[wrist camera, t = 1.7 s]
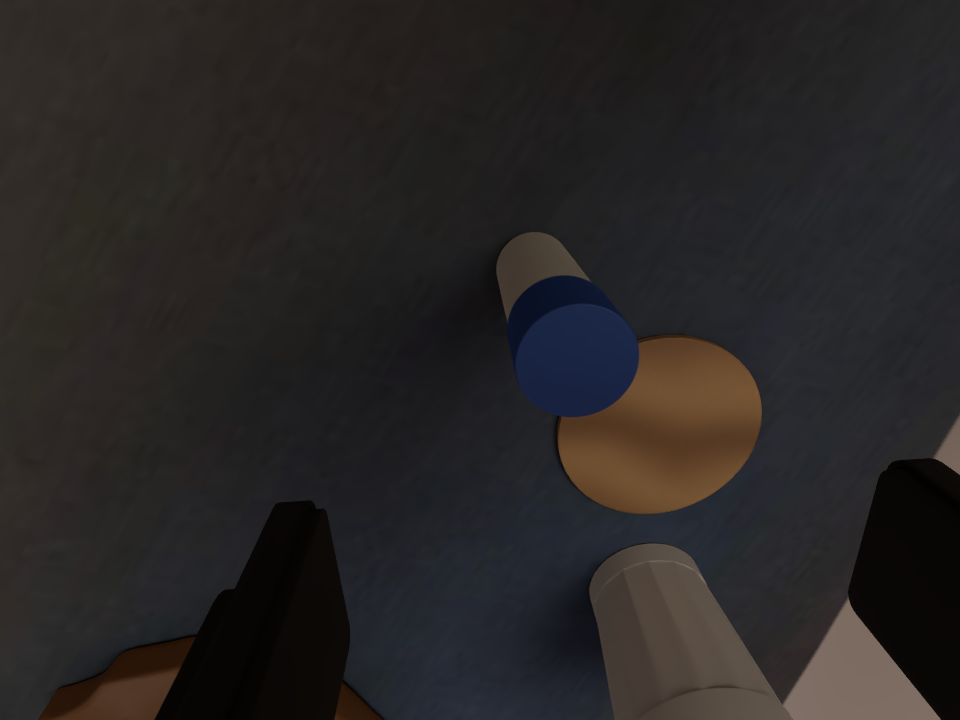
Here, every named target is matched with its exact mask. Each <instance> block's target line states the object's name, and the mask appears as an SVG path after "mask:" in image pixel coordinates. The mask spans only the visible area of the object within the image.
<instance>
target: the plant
mask: <svg viewBox="0 0 960 720" xmlns="http://www.w3.org/2000/svg"><path fill="white" fill-rule="evenodd" d="M195 638H196V636H195V637H187V638H183V639H179V640H175V641H171V642H166V643H161V644H155V645H150V646H145V647H139V648H135V649H131V650H128V651H125V652H123V653H122V654H121V655H119V656H118V657H117V658H116V660H115V661H114V662H113V663H112V664H111V666H110V667H109V668H108V669H107V670H106V671H105V672H104V673H103V674H101V675H99V676H96V677H94V678H91V679H89V680H86V681H83V682H80V683H77V684H74V685H70V686H66V687H63V688H59V689H58V690H57V691H56V693H55V694H54V696H53V697H52V699H51V701H50V702H49V704H48V705H47V707H46V708H45V710H44V711H43V713H42V714H41V716H40V717H39V719H38V720H154V719H155V717H156V715H157V713H158V711H159V710H160V708H161V706H162V704H163V702H164V700H165V698H166V696H167V694H168V692H169V690H170V688H171V686H172V684H173V682H174V680H175V678H176V676H177V674H178V672H179V670H180V668H181V666H182V664H183V662H184V660H185V658H186V656H187V654H188V652H189V650H190V648H191V646H192V644H193V642H194V640H195ZM335 720H383V719H382V718H381V717H380V716H378V715H377V714H376V713H375V712H374V711H372V710H371V709H370V708H369V706H368V705H367V704H366V703H365V702H364V701H362V700H361V699H360V698H359V697H358V696H357V695H356V694H355V693H354V692H353V691H352V690H351V689H350V688H349V687H348V686H347V685H345V684H344V683H343V682H342V685H341V690H340V695H339V700H338V705H337V710H336V715H335Z"/></svg>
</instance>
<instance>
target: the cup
mask: <svg viewBox="0 0 960 720" xmlns="http://www.w3.org/2000/svg"><path fill="white" fill-rule="evenodd" d="M589 593H590V599H591V603H592V607H593V610H594V614H595V618H596V621H597V624H598V629H599V635H600V641H601V646H602V652H603V657H604V663H605V668H606V674H607V679H608V685H609V690H610V696H611V702H612V707H613V713H614V718H615V720H793V719H792V717H791V716H790V714H789V713H788V711H787V710H786V709H785V708H784V707H783V705H782V704H781V702H780V701H779V699H778V698H777V696H776V694H775V693H774V691H773V690H772V688H771V686H770V685H769V683H768V682H767V680H766V679H765V677H764V675H763V674H762V672H761V671H760V669H759V667H758V666H757V664H756V663H755V661H754V660H753V658H752V656H751V655H750V653H749V652H748V650H747V648H746V647H745V645H744V644H743V642H742V641H741V639H740V637H739V636H738V634H737V633H736V631H735V630H734V628H733V626H732V625H731V623H730V622H729V620H728V618H727V617H726V615H725V614H724V612H723V611H722V609H721V607H720V606H719V604H718V603H717V601H716V599H715V598H714V596H713V595H712V593H711V592H710V590H709V588H708V587H707V585H706V583H705V581H704V579H703V577H702V575H701V573H700V571H699V569H698V567H697V565H696V563H695V562H694V560H693V559H692V558H691V557H690V556H689V555H688V554H686V553H685V552H684V551H682V550H680V549H678V548H676V547H673V546H669V545H665V544H656V543H650V544H641V545H636V546H632V547H629V548H626V549H623V550H621V551H619V552H617V553H615V554H614V555H612V556H611V557H609V558H608V559H607V560H606V561H604V562H603V563H602V564H601V565H600V567H599V568H598V569H597V570H596V572H595V574H594V575H593V577H592V580H591V583H590V589H589Z"/></svg>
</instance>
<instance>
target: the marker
mask: <svg viewBox="0 0 960 720" xmlns="http://www.w3.org/2000/svg"><path fill="white" fill-rule="evenodd" d="M496 273H497V279H498V283H499V288H500V292H501V297H502V301H503V305H504V310H505V314H506V318H507V336H508V341H509V346H510V351H511V355H512V360H513V365H514V369H515V374H516V378H517V382H518V384H519V386H520V388H521V390H522V392H523V393H524V395H525V396H526V397H527V398H528V400H530V401H531V402H532V403H533V404H534V405H535V406H537V407H538V408H540V409H542V410H543V411H545V412H548V413H550V414H553V415H557V416H561V417H582V416H587V415H592V414H594V413H597V412H600V411H602V410H604V409H606V408H608V407H609V406H611V405H612V404H614V403H615V402H616V401H617V400H619V399H620V398H621V397H622V396H623V395H624V394H625V392H626V391H627V390H628V388H629V387H630V385H631V383H632V382H633V380H634V378H635V375H636V372H637V369H638V364H639V346H638V342H637V339H636V336H635V334H634V332H633V330H632V328H631V327H630V325H629V324H628V323H627V321H626V320H625V319H624V318H623V316H622V315H621V314H620V313H619V311H618V310H617V309H616V308H615V306H614V305H613V304H612V303H611V301H610V300H609V299H608V297H607V296H606V295H605V294H604V293H603V292H602V290H601V289H600V288H598V287H597V286H596V285H595V284H593V283H592V282H591V281H590V280H589V279H588V277H587V276H586V275H585V273H584V272H583V271H582V269H581V268H580V267H579V266H578V264H577V263H576V262H575V260H574V259H573V258H572V257H571V255H570V254H569V253H568V251H567V250H566V249H565V248H564V246H563V245H562V244H561V243H560V242H559V241H558V240H557V239H556V238H554V237H552V236H550V235H548V234H545V233H541V232H529V233H525V234H521V235H519V236H517V237H515V238H514V239H512V240H511V241H510V242H509V243H508V244H506V246H505V247H504V248H503V250H502V251H501V253H500V255H499V257H498V261H497V266H496Z"/></svg>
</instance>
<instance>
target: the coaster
mask: <svg viewBox="0 0 960 720" xmlns="http://www.w3.org/2000/svg"><path fill="white" fill-rule="evenodd" d="M637 342H638V346H639V364H638V369H637V372H636V375H635V378H634V380H633V382H632V383H631V385H630V387H629V388H628V390H627V391H626V392H625V394H624V395H623V396H622V397H621V398H620V399H619V400H617V401H616V402H615V403H614V404H612V405H611V406H609V407H608V408H606V409H604V410H602V411H600V412H597V413H594V414H592V415H587V416H582V417H561V416H559V420H558V426H557V444H558V450H559V454H560V458H561V461H562V464H563V466H564V469H565V471H566V473H567V474H568V476H569V477H570V479H571V481H572V482H573V483H574V484H575V485H576V486H577V488H578V489H579V490H581V491H582V492H583V493H584V494H585V495H586V496H588V497H589V498H591V499H592V500H594V501H595V502H597V503H599V504H601V505H603V506H606V507H608V508H611V509H614V510H617V511H622V512H627V513H636V514H655V513H663V512H668V511H673V510H677V509H680V508H683V507H686V506H689V505H692V504H694V503H696V502H698V501H700V500H702V499H704V498H706V497H708V496H709V495H711V494H713V493H714V492H716V491H717V490H718V489H720V488H721V487H722V486H724V485H725V484H726V483H727V482H728V481H729V480H730V479H732V478H733V476H734V475H735V474H736V473H737V472H738V471H739V470H740V469H741V467H742V466H743V465H744V463H745V462H746V460H747V459H748V457H749V455H750V454H751V452H752V450H753V448H754V446H755V443H756V441H757V438H758V435H759V431H760V426H761V417H762V408H761V399H760V395H759V391H758V388H757V386H756V383H755V381H754V379H753V377H752V376H751V374H750V372H749V371H748V370H747V368H746V367H745V366H744V365H743V364H742V363H741V361H739V360H738V359H737V358H736V357H735V356H734V355H732V354H731V353H730V352H729V351H727V350H726V349H724V348H722V347H721V346H719V345H717V344H715V343H712V342H710V341H707V340H705V339H701V338H697V337H693V336H685V335H660V336H652V337H647V338H643V339H639V340H637Z"/></svg>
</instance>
